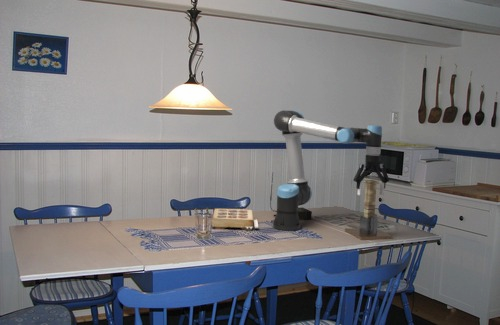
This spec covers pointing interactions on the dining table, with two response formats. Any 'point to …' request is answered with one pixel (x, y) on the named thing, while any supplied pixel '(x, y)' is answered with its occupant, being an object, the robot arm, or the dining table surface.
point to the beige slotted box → (233, 219)
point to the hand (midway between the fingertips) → (370, 194)
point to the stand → (368, 229)
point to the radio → (302, 212)
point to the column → (370, 198)
